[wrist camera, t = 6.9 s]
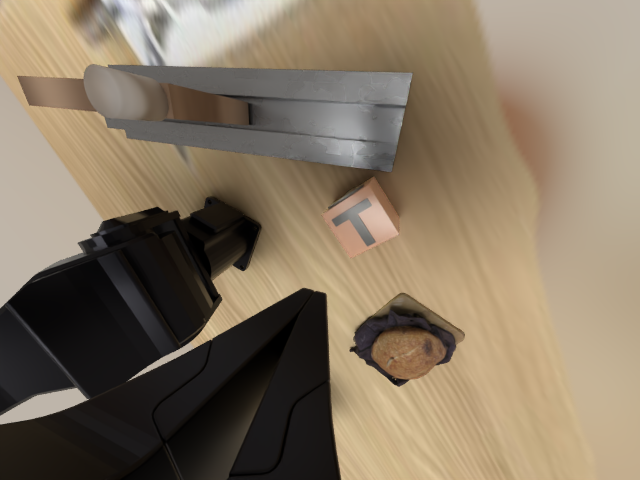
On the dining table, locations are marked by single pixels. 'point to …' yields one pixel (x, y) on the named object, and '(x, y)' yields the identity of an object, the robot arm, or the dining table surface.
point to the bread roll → (406, 340)
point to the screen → (132, 97)
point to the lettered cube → (362, 218)
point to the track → (288, 113)
